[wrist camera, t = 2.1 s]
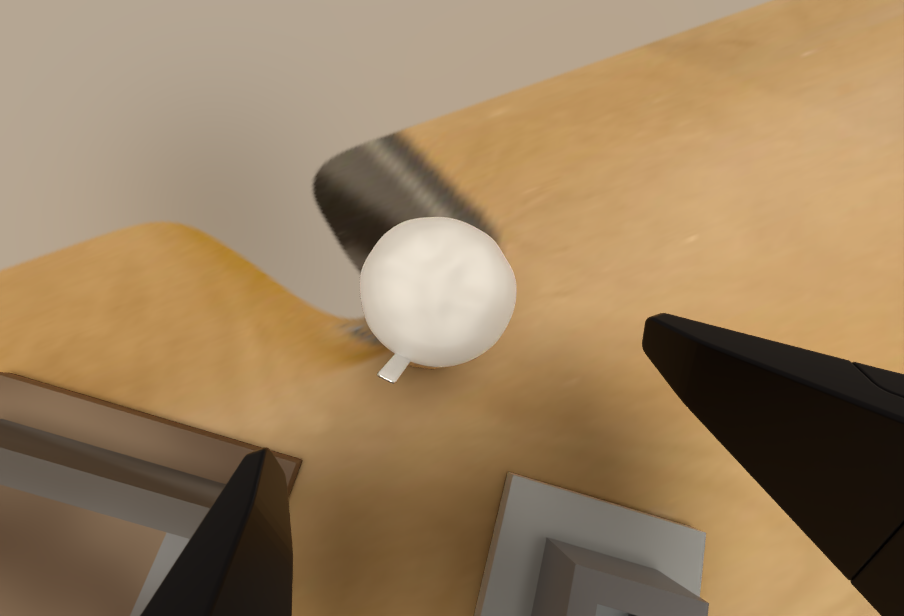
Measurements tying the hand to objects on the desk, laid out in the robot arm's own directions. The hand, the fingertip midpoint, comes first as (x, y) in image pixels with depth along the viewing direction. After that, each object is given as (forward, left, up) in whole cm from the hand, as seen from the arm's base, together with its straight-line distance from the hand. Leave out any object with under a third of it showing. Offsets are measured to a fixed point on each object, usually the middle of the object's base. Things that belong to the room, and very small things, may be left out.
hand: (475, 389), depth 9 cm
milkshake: (+2, +2, -10) cm, 11 cm away
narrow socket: (-7, -8, -10) cm, 15 cm away
